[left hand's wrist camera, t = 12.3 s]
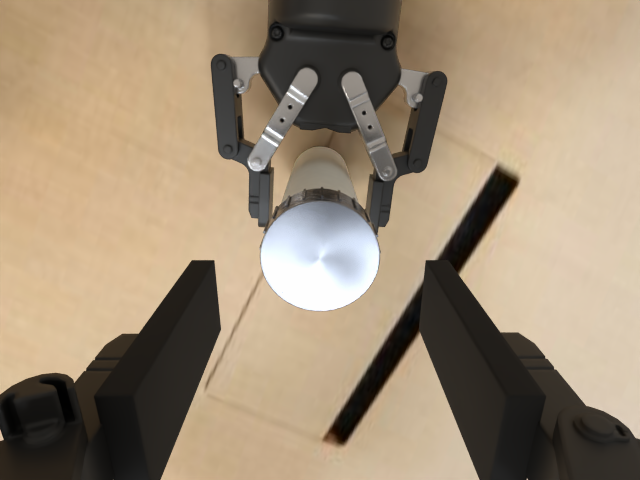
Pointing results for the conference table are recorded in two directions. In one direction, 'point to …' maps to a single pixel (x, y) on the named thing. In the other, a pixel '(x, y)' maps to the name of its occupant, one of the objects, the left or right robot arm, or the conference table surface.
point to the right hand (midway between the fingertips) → (317, 226)
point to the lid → (320, 250)
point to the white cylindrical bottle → (320, 173)
